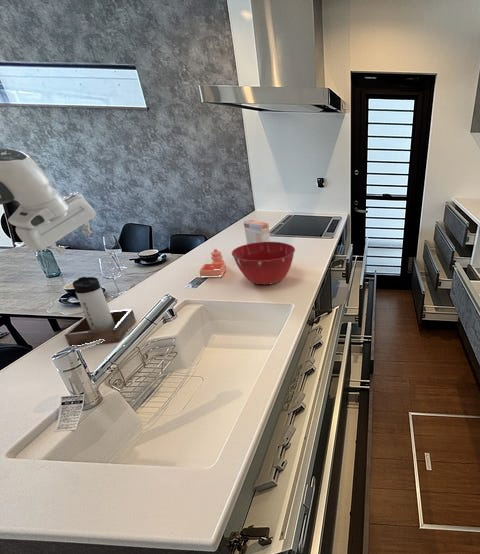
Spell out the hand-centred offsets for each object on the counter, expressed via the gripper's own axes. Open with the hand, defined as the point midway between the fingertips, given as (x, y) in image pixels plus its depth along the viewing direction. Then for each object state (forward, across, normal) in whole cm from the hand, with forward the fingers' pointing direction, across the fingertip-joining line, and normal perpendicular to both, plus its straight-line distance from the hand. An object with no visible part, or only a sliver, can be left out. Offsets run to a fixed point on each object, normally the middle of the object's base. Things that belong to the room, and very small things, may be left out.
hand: (75, 242), depth 99 cm
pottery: (+46, -38, +12) cm, 61 cm away
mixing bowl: (+42, -37, +42) cm, 69 cm away
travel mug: (+25, +16, +10) cm, 31 cm away
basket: (+26, +16, +10) cm, 32 cm away
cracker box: (+54, -61, +23) cm, 85 cm away
